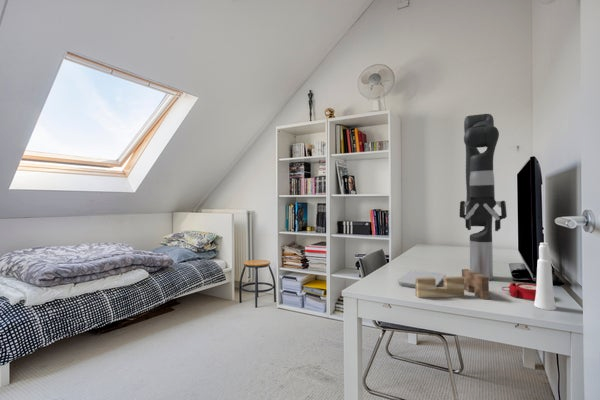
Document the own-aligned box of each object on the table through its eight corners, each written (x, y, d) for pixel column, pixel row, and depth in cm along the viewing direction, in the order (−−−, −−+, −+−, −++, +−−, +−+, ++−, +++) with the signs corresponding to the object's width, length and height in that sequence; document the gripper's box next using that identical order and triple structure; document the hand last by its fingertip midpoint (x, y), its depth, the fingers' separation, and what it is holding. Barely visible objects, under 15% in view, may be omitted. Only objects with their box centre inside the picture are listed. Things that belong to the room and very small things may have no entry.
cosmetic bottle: (540, 309, 108) (539, 244, 107) (530, 304, 113) (529, 241, 113) (560, 310, 107) (559, 244, 106) (549, 304, 113) (548, 241, 112)
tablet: (446, 278, 153) (446, 273, 153) (435, 292, 131) (434, 286, 131) (411, 274, 162) (411, 269, 162) (395, 286, 140) (395, 281, 140)
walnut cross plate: (462, 288, 134) (461, 269, 134) (468, 288, 134) (467, 269, 134) (482, 299, 120) (482, 277, 120) (488, 298, 120) (488, 277, 120)
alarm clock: (553, 293, 114) (504, 279, 122) (549, 310, 115) (500, 294, 122) (550, 286, 123) (504, 273, 130) (545, 301, 123) (500, 287, 131)
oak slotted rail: (415, 295, 126) (415, 277, 126) (460, 294, 126) (460, 276, 126) (418, 297, 123) (417, 279, 123) (464, 296, 124) (464, 278, 124)
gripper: (507, 183, 111) (507, 230, 112) (462, 185, 120) (462, 228, 121) (504, 183, 105) (505, 232, 106) (457, 185, 114) (457, 230, 115)
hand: (482, 230), depth 113 cm, fingers open, 8 cm apart
